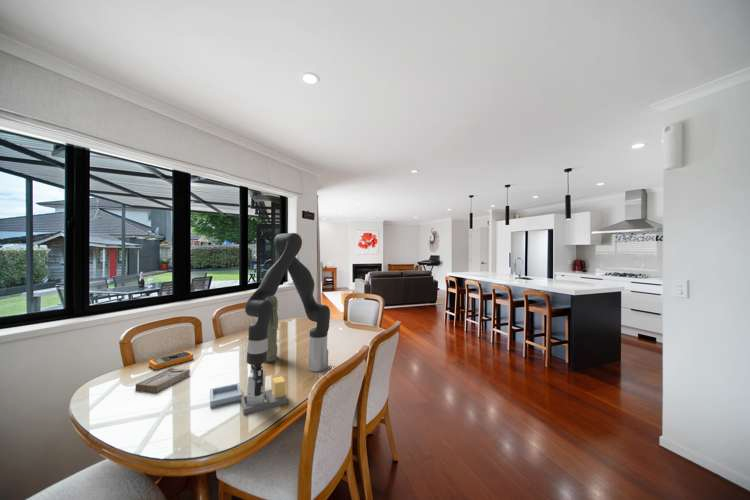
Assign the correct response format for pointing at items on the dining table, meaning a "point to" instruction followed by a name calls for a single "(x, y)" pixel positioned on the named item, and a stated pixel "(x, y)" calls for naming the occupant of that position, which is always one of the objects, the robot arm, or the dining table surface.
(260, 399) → the skincare box
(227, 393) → the tray
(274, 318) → the thermos
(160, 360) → the multimeter
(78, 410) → the dining table surface
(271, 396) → the block
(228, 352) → the dining table surface
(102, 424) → the dining table surface
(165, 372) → the box
